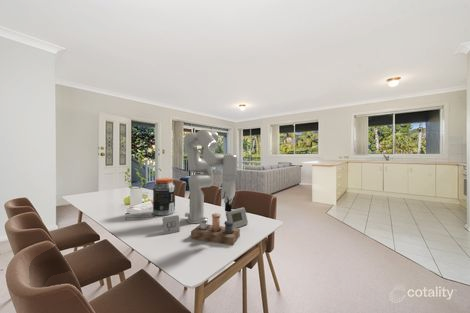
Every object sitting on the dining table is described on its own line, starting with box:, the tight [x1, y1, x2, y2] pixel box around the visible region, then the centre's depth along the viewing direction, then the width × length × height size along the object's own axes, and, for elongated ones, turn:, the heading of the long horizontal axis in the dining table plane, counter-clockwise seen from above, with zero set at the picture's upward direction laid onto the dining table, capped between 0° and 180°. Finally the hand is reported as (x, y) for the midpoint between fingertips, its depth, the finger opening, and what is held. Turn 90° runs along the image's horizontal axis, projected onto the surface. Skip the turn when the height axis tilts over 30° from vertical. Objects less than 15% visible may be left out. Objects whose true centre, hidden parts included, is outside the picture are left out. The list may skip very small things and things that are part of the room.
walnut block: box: [190, 223, 241, 247], centre depth 107 cm, size 24×12×4 cm, turn 72°
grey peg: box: [199, 217, 209, 230], centre depth 109 cm, size 5×5×9 cm
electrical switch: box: [162, 214, 181, 235], centre depth 114 cm, size 9×5×9 cm, turn 122°
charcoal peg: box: [224, 220, 233, 234], centre depth 104 cm, size 5×5×9 cm
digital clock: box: [225, 207, 249, 229], centre depth 124 cm, size 16×9×11 cm, turn 121°
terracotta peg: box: [211, 212, 221, 232], centre depth 107 cm, size 5×5×9 cm
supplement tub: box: [152, 177, 176, 216], centre depth 148 cm, size 16×16×26 cm
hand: (228, 211), depth 105 cm, fingers closed
